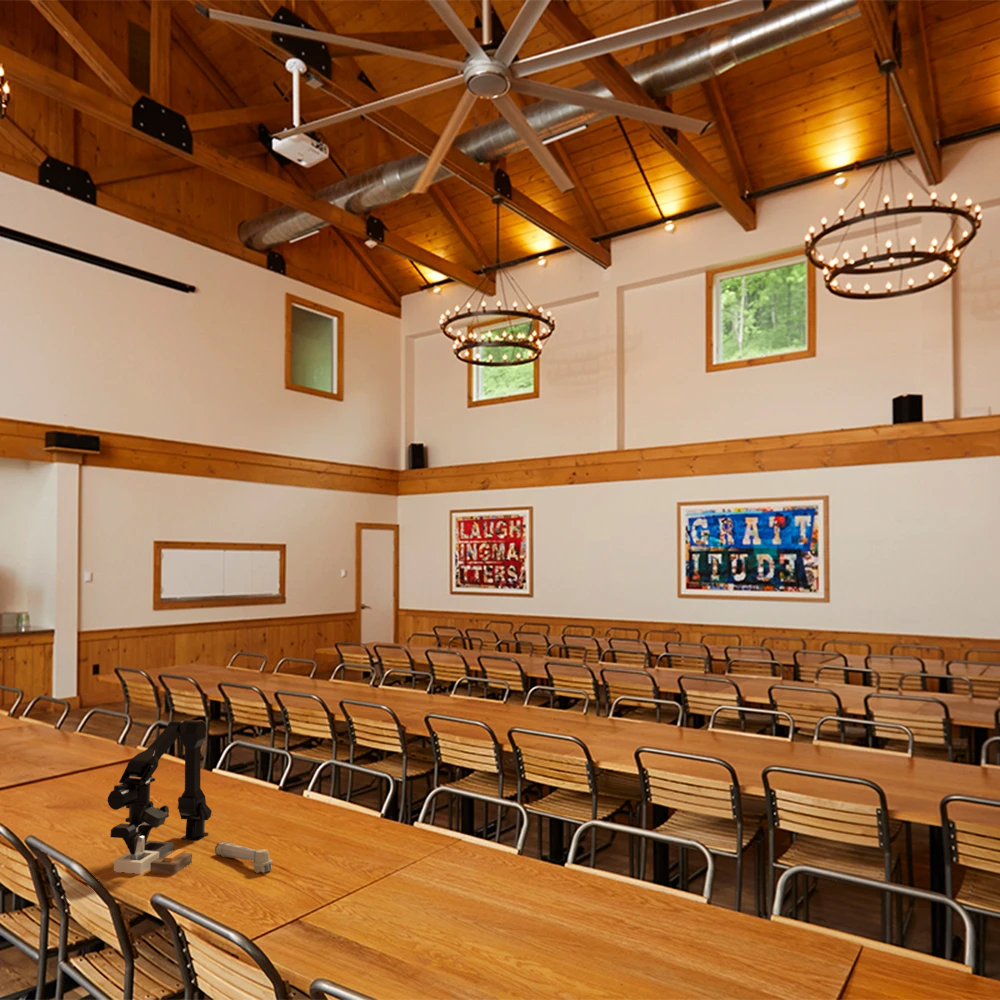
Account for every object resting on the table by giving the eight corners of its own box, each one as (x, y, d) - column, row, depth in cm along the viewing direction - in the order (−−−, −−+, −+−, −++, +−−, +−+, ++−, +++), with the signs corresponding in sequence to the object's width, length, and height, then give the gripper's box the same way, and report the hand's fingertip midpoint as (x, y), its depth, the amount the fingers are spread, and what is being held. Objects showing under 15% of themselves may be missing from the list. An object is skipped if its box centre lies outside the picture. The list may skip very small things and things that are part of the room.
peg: (135, 859, 240) (136, 833, 241) (146, 860, 239) (147, 834, 240) (126, 864, 236) (128, 837, 237) (138, 865, 235) (139, 838, 236)
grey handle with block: (226, 839, 252) (275, 845, 237) (227, 861, 251) (276, 868, 236) (212, 844, 248) (260, 850, 233) (213, 866, 247) (261, 874, 232)
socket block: (148, 848, 253) (148, 840, 254) (173, 850, 252) (173, 842, 252) (130, 858, 245) (130, 850, 245) (156, 861, 243) (156, 852, 243)
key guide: (168, 861, 243) (168, 851, 243) (191, 863, 241) (192, 853, 241) (150, 872, 234) (150, 862, 234) (174, 875, 232) (174, 864, 232)
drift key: (177, 860, 243) (178, 849, 243) (185, 861, 242) (185, 849, 243) (164, 869, 236) (164, 857, 236) (171, 869, 236) (172, 858, 236)
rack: (133, 861, 243) (133, 849, 243) (158, 863, 241) (159, 851, 241) (113, 872, 234) (114, 860, 234) (140, 874, 232) (140, 862, 233)
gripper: (143, 811, 228) (141, 865, 227) (180, 792, 247) (179, 842, 246) (110, 808, 231) (107, 862, 229) (149, 790, 249) (147, 840, 248)
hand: (137, 851), depth 238 cm, fingers closed on peg, 4 cm apart
